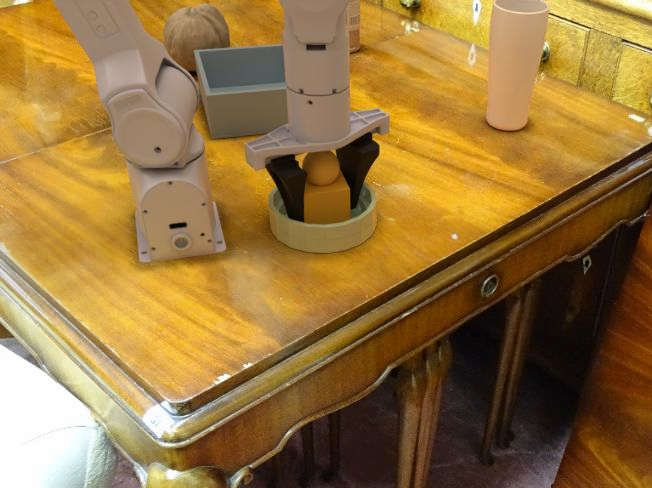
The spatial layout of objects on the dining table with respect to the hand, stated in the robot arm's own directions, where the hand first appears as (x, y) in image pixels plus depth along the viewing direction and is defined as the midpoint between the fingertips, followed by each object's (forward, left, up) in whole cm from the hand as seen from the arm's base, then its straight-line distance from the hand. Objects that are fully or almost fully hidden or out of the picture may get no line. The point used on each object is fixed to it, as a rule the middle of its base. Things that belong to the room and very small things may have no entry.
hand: (323, 213), depth 78 cm
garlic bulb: (+43, +8, -2) cm, 44 cm away
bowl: (0, 0, -2) cm, 2 cm away
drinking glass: (+18, -28, -2) cm, 33 cm away
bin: (+29, +2, -2) cm, 29 cm away
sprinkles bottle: (+47, -14, -2) cm, 49 cm away
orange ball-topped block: (0, 0, -1) cm, 1 cm away
